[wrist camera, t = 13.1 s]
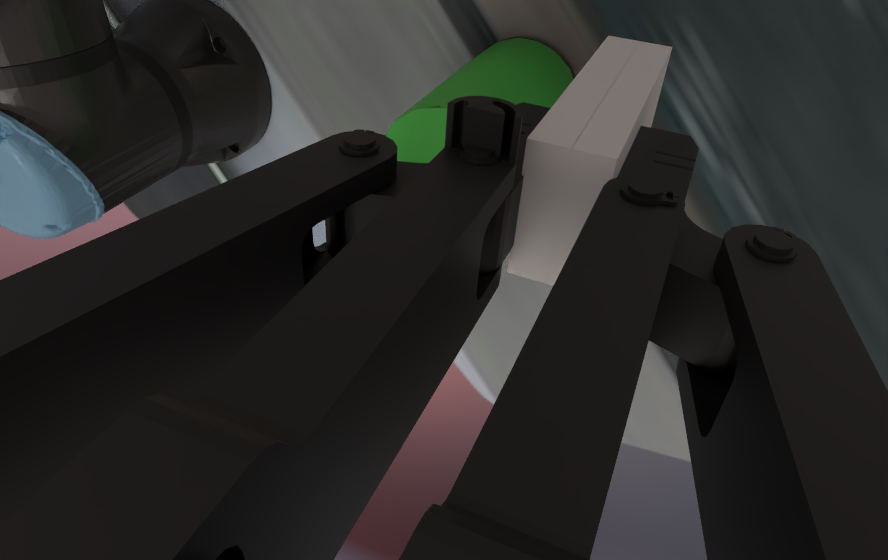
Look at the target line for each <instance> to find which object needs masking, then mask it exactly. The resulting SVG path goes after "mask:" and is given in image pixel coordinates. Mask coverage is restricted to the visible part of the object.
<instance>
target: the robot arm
mask: <svg viewBox="0 0 888 560" xmlns="http://www.w3.org/2000/svg"><path fill="white" fill-rule="evenodd" d="M671 50H672V47H669V46H663V45H658V44H652V43H647V42H641V41H635V40H630V39H624V38H619V37H613V36H608V37H607V38H606V39H605V41H604V42H603V43H602V44H601V46H600V47H599V48H598V49H597V51H596V52H595V53H594V55H593V56H592V57H591V58H590V60H589V61H588V62H587V63H586V65H585V66H584V67H583V68H582V70H581V71H580V72H579V73H578V75H577V76H576V77H575V78H574V80H573V81H572V82H571V84H570V85H569V86H568V87H567V89H566V90H565V91H564V92H563V94H562V95H561V96H560V97H559V99H558V100H557V101H556V102H555V104H554V105H553V106H552V107H551V108H548V107H544V106H539V105H534V104H530V103H525V102H522V103H519V104H516V105H515V104H513V103H511V102H509V101H506V100H503V99H500V98H495V97H488V96H465V97H460V98H456V99H454V100H452V101H450V102H448V105H447V120H446V135H445V147H444V148H443V149H442V150H441V151H440V152H439V153H438V154H437V155H436V156H435V157H434V158H433V159H432V160H431V161H430V162H429V163H416V162H403V161H397V145H396V144H395V142H394V141H393V140H392V139H390V138H388V137H387V136H385V135H382V134H378V133H375V132H374V131H369V130H366V131H364V130H354V131H351V132H343V133H339V134H336V135H332V136H330V137H328V138H325V139H323V140H321V141H319V142H316V143H314V144H312V145H309V146H307V147H305V148H303V149H300V150H298V151H296V152H293V153H291V154H289V155H286V156H284V157H282V158H280V159H277V160H275V161H273V162H270V163H268V164H266V165H264V166H261V167H259V168H257V169H254V170H252V171H250V172H247V173H245V174H243V175H241V176H238V177H236V178H234V179H231V180H229V181H227V182H225V183H222V184H220V185H218V186H215V187H213V188H211V189H208V190H206V191H204V192H202V193H199V194H197V195H195V196H192V197H190V198H188V199H186V200H183V201H181V202H179V203H176V204H174V205H172V206H169V207H167V208H165V209H163V210H160V211H158V212H156V213H153V214H151V215H149V216H147V217H144V218H142V219H140V220H137V221H135V222H133V223H130V224H128V225H126V226H124V227H121V228H119V229H117V230H114V231H112V232H110V233H108V234H105V235H103V236H101V237H98V238H96V239H94V240H91V241H89V242H87V243H85V244H83V245H80V246H78V247H75V248H73V249H71V250H69V251H66V252H64V253H62V254H59V255H57V256H55V257H53V258H50V259H48V260H46V261H43V262H41V263H39V264H36V265H34V266H32V267H30V268H27V269H25V270H23V271H21V272H18V273H16V274H14V275H11V276H9V277H7V278H4V279H2V280H0V560H334V558H335V557H336V555H337V553H338V551H339V550H340V548H341V546H342V545H343V543H344V541H345V540H346V538H347V537H348V535H349V533H350V531H351V530H352V528H353V526H354V525H355V523H356V522H357V520H358V518H359V517H360V515H361V513H362V511H363V510H364V508H365V507H366V505H367V503H368V502H369V500H370V498H371V497H372V495H373V493H374V492H375V490H376V488H377V487H378V485H379V483H380V482H381V480H382V478H383V477H384V475H385V474H386V472H387V470H388V468H389V467H390V465H391V464H392V462H393V460H394V459H395V457H396V455H397V454H398V452H399V450H400V449H401V447H402V445H403V444H404V442H405V440H406V438H407V437H408V435H409V434H410V432H411V430H412V429H413V427H414V425H415V424H416V422H417V420H418V419H419V417H420V415H421V414H422V412H423V411H424V409H425V407H426V405H427V404H428V402H429V400H430V399H431V397H432V396H433V394H434V392H435V391H436V389H437V387H438V386H439V384H440V382H441V380H442V379H443V377H444V376H445V374H446V372H447V371H448V369H449V367H450V366H451V364H452V362H453V361H454V359H455V357H456V356H457V354H458V352H459V351H460V349H461V347H462V346H463V344H464V342H465V341H466V339H467V337H468V336H469V334H470V333H471V331H472V329H473V328H474V326H475V324H476V323H477V321H478V319H479V318H480V316H481V314H482V313H483V311H484V309H485V308H486V306H487V304H488V303H489V301H490V299H491V298H492V296H493V294H494V293H495V291H496V289H497V288H498V286H499V281H500V276H501V269H502V262H503V261H504V259H505V258H506V256H507V255H508V253H509V251H510V256H509V263H508V270H507V273H511V274H514V275H517V276H521V277H524V278H528V279H531V280H535V281H538V282H541V283H545V284H548V285H552V286H553V288H552V290H551V292H550V294H549V296H548V298H547V300H546V302H545V304H544V306H543V308H542V310H541V312H540V314H539V316H538V318H537V320H536V322H535V324H534V326H533V328H532V330H531V332H530V334H529V336H528V338H527V340H526V342H525V344H524V346H523V348H522V350H521V352H520V354H519V356H518V358H517V360H516V362H515V364H514V366H513V368H512V370H511V372H510V374H509V376H508V378H507V380H506V382H505V384H504V386H503V388H502V390H501V392H500V394H499V396H498V398H497V400H496V402H495V404H494V406H493V408H492V410H491V412H490V414H489V416H488V418H487V420H486V422H485V424H484V426H483V428H482V430H481V432H480V434H479V436H478V438H477V440H476V442H475V444H474V446H473V448H472V450H471V452H470V454H469V456H468V458H467V460H466V462H465V464H464V466H463V468H462V470H461V472H460V474H459V476H458V478H457V480H456V482H455V484H454V486H453V488H452V490H451V492H450V494H449V495H448V497H447V499H446V501H445V502H444V503H443V504H442V505H441V506H440V505H436V504H433V505H432V506H431V507H430V508H429V509H428V510H427V511H426V512H425V513H424V515H423V517H422V518H421V520H420V522H419V524H418V525H417V527H416V529H415V530H414V532H413V534H412V536H411V538H410V540H409V542H408V544H407V546H406V547H405V549H404V551H403V553H402V555H401V557H400V559H399V560H590V555H591V552H592V548H593V544H594V541H595V537H596V533H597V530H598V526H599V522H600V518H601V515H602V511H603V507H604V504H605V500H606V496H607V492H608V489H609V485H610V481H611V477H612V474H613V470H614V467H615V463H616V459H617V455H618V452H619V448H620V444H621V441H622V437H623V433H624V430H625V426H626V422H627V418H628V415H629V411H630V407H631V404H632V400H633V396H634V393H635V389H636V385H637V381H638V378H639V374H640V370H641V367H642V363H643V359H644V356H645V352H646V348H647V344H648V341H649V340H650V341H651V342H653V343H655V344H657V345H659V346H660V347H662V348H664V349H666V350H668V351H669V352H671V353H673V354H675V355H677V356H678V357H679V359H678V361H677V369H676V373H677V379H678V385H679V391H680V397H681V403H682V409H683V415H684V421H685V427H686V433H687V439H688V445H689V452H690V458H691V464H692V469H693V475H694V482H695V488H696V494H697V500H698V506H699V512H700V518H701V524H702V530H703V536H704V541H705V548H706V554H707V560H888V391H887V389H886V387H885V385H884V383H883V381H882V379H881V377H880V375H879V373H878V372H877V370H876V368H875V366H874V364H873V362H872V360H871V358H870V356H869V354H868V352H867V350H866V348H865V346H864V344H863V342H862V340H861V338H860V336H859V334H858V332H857V331H856V329H855V327H854V325H853V323H852V321H851V319H850V317H849V315H848V313H847V311H846V309H845V307H844V305H843V303H842V301H841V299H840V297H839V295H838V293H837V291H836V289H835V288H834V286H833V284H832V282H831V280H830V278H829V276H828V274H827V272H826V270H825V268H824V266H823V264H822V262H821V260H820V258H819V256H818V255H817V253H816V252H815V251H814V250H813V249H812V247H811V246H810V245H809V244H807V243H806V242H804V241H803V240H801V239H800V238H798V237H797V236H796V235H794V234H792V233H790V232H788V231H786V232H785V231H784V230H783V229H780V228H777V227H768V226H763V225H746V224H745V225H741V226H736V227H732V228H731V229H730V230H729V231H728V232H726V233H725V235H724V238H723V239H721V238H719V237H717V236H715V235H713V234H711V233H709V232H707V231H705V230H703V229H701V228H700V227H698V226H697V225H696V224H694V223H693V222H692V221H691V220H690V219H689V218H688V217H687V215H686V213H685V211H684V207H685V198H686V194H687V190H688V187H689V183H690V179H691V175H692V172H693V168H694V164H695V160H696V157H697V153H698V149H699V148H698V147H697V145H696V144H695V142H694V141H693V139H692V137H691V136H687V135H683V134H678V133H673V132H669V131H664V130H659V129H655V128H651V126H652V122H653V118H654V114H655V111H656V107H657V103H658V99H659V95H660V92H661V88H662V84H663V80H664V77H665V73H666V69H667V65H668V61H669V58H670V54H671ZM270 111H271V95H270V88H269V83H268V79H267V75H266V72H265V69H264V66H263V64H262V61H261V59H260V57H259V55H258V53H257V51H256V49H255V47H254V46H253V44H252V42H251V41H250V39H249V38H248V37H247V35H246V34H245V32H244V31H243V30H242V29H241V27H240V26H239V25H238V24H237V23H236V22H235V21H234V20H233V19H232V18H231V17H230V16H229V15H228V14H227V13H225V12H224V11H223V10H222V9H220V8H219V7H217V6H216V5H214V4H212V3H211V2H209V1H207V0H149V1H147V2H145V3H143V4H142V5H140V6H138V7H137V8H136V9H135V10H134V11H133V12H132V13H131V14H130V15H129V16H128V17H127V18H126V19H125V20H124V21H123V22H122V23H121V24H120V25H118V26H117V27H116V28H115V29H114V30H113V31H112V30H111V27H110V23H109V20H108V17H107V14H106V11H105V7H104V4H103V1H102V0H0V226H2V227H4V228H6V229H8V230H10V231H13V232H15V233H18V234H21V235H24V236H28V237H32V238H45V239H47V238H54V237H59V236H61V235H64V234H66V233H68V232H70V231H72V230H74V229H76V228H78V227H80V226H83V225H85V224H87V223H89V222H94V221H96V220H98V219H100V218H101V217H102V215H103V214H104V213H106V212H108V211H109V210H111V209H112V208H114V207H116V206H117V205H119V204H121V203H122V202H124V201H126V200H127V199H129V198H131V197H132V196H134V195H136V194H137V193H139V192H141V191H142V190H144V189H146V188H147V187H149V186H151V185H152V184H154V183H156V182H157V181H159V180H160V179H162V178H164V177H165V176H167V175H168V174H170V173H172V172H174V171H175V170H177V169H179V168H181V167H187V166H194V165H202V164H209V163H216V162H223V161H227V160H230V159H233V158H235V157H237V156H239V155H240V154H242V153H244V152H245V151H247V150H248V149H250V148H251V147H253V146H254V145H255V144H256V143H257V142H258V141H259V140H260V139H261V137H262V136H263V134H264V132H265V130H266V128H267V125H268V122H269V118H270ZM323 220H325V225H326V242H325V243H323V244H322V245H320V246H317V247H315V246H314V244H313V233H312V227H314V226H315V225H316V224H317V223H319V222H321V221H323Z"/></svg>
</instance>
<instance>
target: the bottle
mask: <svg viewBox="0 0 888 560" xmlns="http://www.w3.org/2000/svg"><path fill="white" fill-rule="evenodd" d="M573 80H574V79H573V77H572V74H571V71H570V68H569V67H568V66H567V65H566V64H565V62H564V61H563V60H562V59H561V57H560V56H559V55H558V54H557V52H555V51H553V50H552V49H550V48H549V47H547V46H545V45H544V44H542V43H540V42H539V41H534V40H529V39H523V38H513V39H508V40H503V41H498V42H497V43H495V44H494V45H492V46H491V47H489V48H488V49H486V50H484V51H483V52H482V53H480V54H479V55H478V56H476V57H475V58H474V59H473V60H471V61H470V62H469V63H468V64H466V65H465V66H464V67H462V68H461V69H460V70H459V71H457V72H456V73H455V74H453V75H452V76H451V77H450V78H448V79H447V80H446V81H444V82H443V83H442V84H441V85H439V86H438V87H437V88H436V89H434V90H433V91H432V92H431V93H429V94H428V95H427V96H426V97H424V98H423V99H422V100H421V101H419V102H418V103H417V104H416V105H414V106H413V107H412V108H410V109H409V110H408V111H407V112H405V113H404V114H403V115H402V116H400V117H399V118H398V119H397V120H396V121H395V122H394V124H393V125H392V127H391V128H390V130H389V131H388V133H387V134H386V136H387V137H388V138H390V139H392V140H393V141H394V142H395V144H396V145H397V161H403V162H416V163H429V162H430V161H431V160H432V159H433V158H434V157H435V156H436V155H437V154H438V153H439V152H440V151H441V150H442V149H443V148H444V147H445V135H446V120H447V105H448V102H450V101H452V100H454V99H456V98H460V97H465V96H488V97H495V98H500V99H503V100H506V101H509V102H511V103H513V104H515V105H516V104H519V103H522V102H525V103H530V104H534V105H539V106H544V107H548V108H551V107H552V106H553V105H554V104H555V102H556V101H557V100H558V99H559V97H560V96H561V95H562V94H563V92H564V91H565V90H566V89H567V87H568V86H569V85H570V84H571V82H572V81H573Z"/></svg>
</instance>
